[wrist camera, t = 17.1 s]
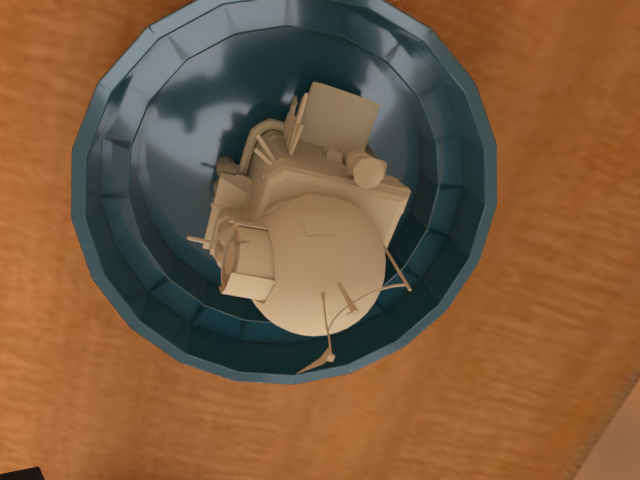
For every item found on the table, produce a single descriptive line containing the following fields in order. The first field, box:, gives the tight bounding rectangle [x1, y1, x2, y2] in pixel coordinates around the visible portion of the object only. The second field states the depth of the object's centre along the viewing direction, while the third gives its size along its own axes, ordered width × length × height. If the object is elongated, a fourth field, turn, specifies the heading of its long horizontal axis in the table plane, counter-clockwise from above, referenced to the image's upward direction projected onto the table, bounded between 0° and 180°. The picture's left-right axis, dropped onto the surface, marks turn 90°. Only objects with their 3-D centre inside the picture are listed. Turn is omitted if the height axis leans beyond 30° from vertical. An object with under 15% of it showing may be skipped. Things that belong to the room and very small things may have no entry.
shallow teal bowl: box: [71, 0, 497, 385], centre depth 27 cm, size 18×18×6 cm
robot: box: [187, 82, 412, 374], centre depth 23 cm, size 10×8×15 cm
